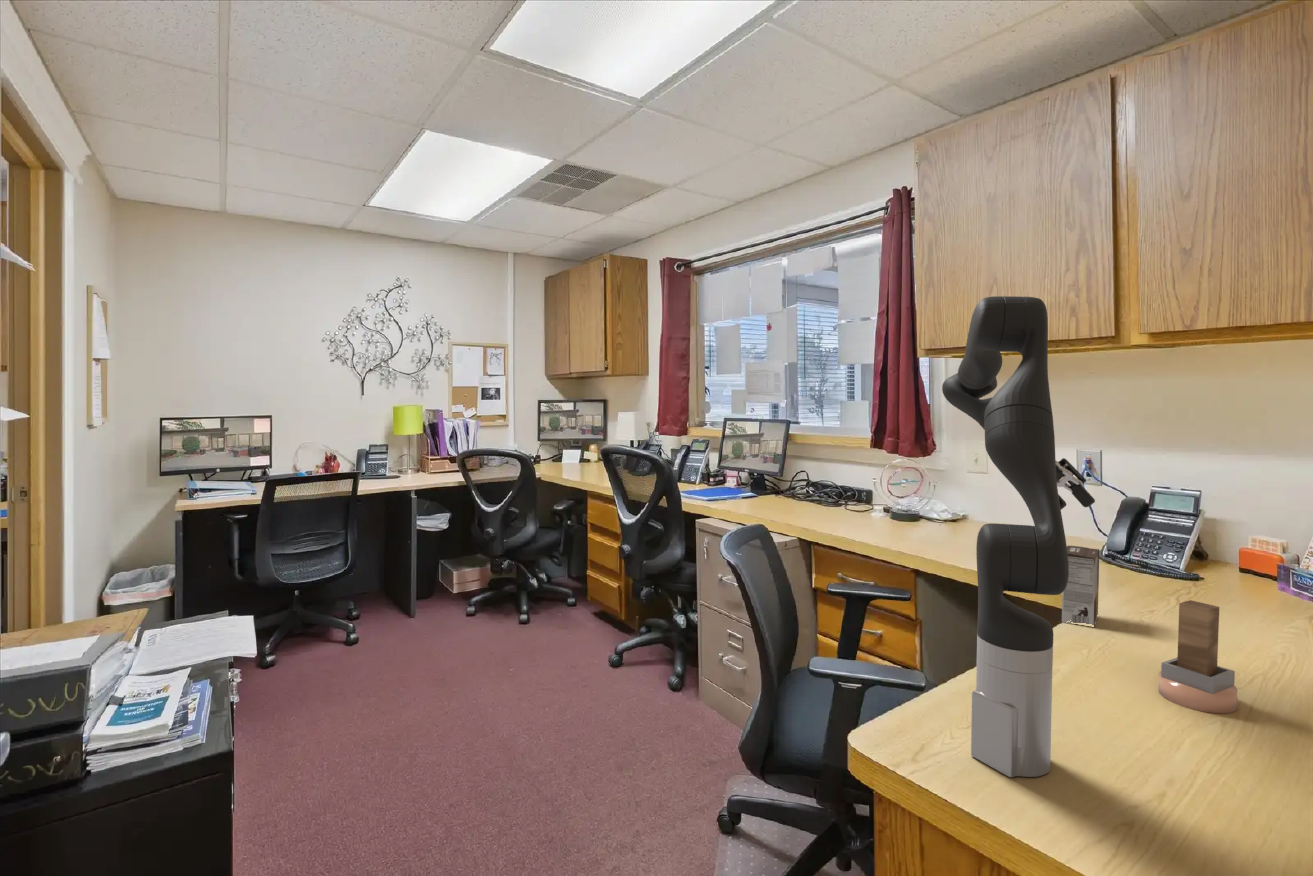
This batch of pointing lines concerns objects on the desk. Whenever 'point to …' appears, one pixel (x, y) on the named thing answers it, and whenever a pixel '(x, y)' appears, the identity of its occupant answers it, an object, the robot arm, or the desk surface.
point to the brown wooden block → (1198, 637)
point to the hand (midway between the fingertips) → (1076, 506)
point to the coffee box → (1081, 586)
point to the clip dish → (1198, 688)
